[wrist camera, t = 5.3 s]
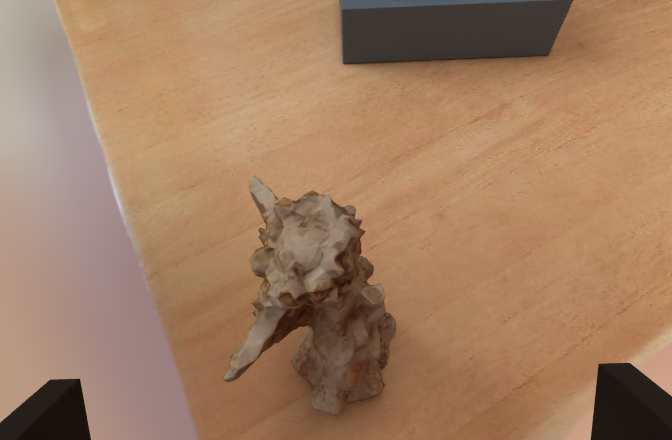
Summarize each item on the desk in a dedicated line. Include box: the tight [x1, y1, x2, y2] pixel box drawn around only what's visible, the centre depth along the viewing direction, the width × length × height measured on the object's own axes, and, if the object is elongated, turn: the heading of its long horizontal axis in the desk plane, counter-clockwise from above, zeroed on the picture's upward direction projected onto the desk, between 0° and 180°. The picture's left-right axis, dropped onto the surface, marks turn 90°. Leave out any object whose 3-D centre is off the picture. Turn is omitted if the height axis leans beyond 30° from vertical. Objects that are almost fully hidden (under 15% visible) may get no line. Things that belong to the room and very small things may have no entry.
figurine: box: [223, 175, 396, 416], centre depth 17 cm, size 7×6×15 cm
